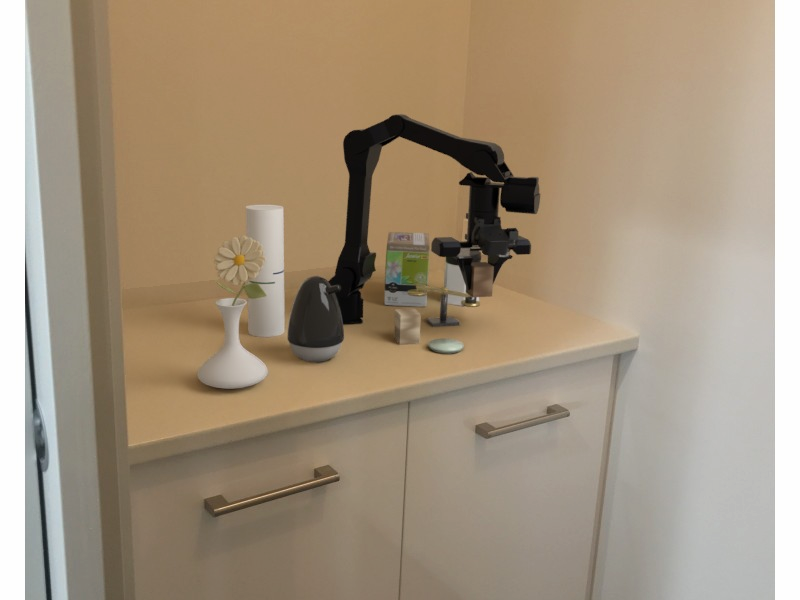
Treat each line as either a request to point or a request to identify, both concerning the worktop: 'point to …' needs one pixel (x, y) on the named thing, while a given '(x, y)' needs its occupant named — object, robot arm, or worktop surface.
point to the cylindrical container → (267, 270)
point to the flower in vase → (235, 317)
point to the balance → (444, 304)
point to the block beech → (407, 326)
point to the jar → (457, 278)
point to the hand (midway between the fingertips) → (478, 289)
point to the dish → (446, 346)
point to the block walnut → (481, 280)
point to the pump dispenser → (316, 321)
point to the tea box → (406, 268)
